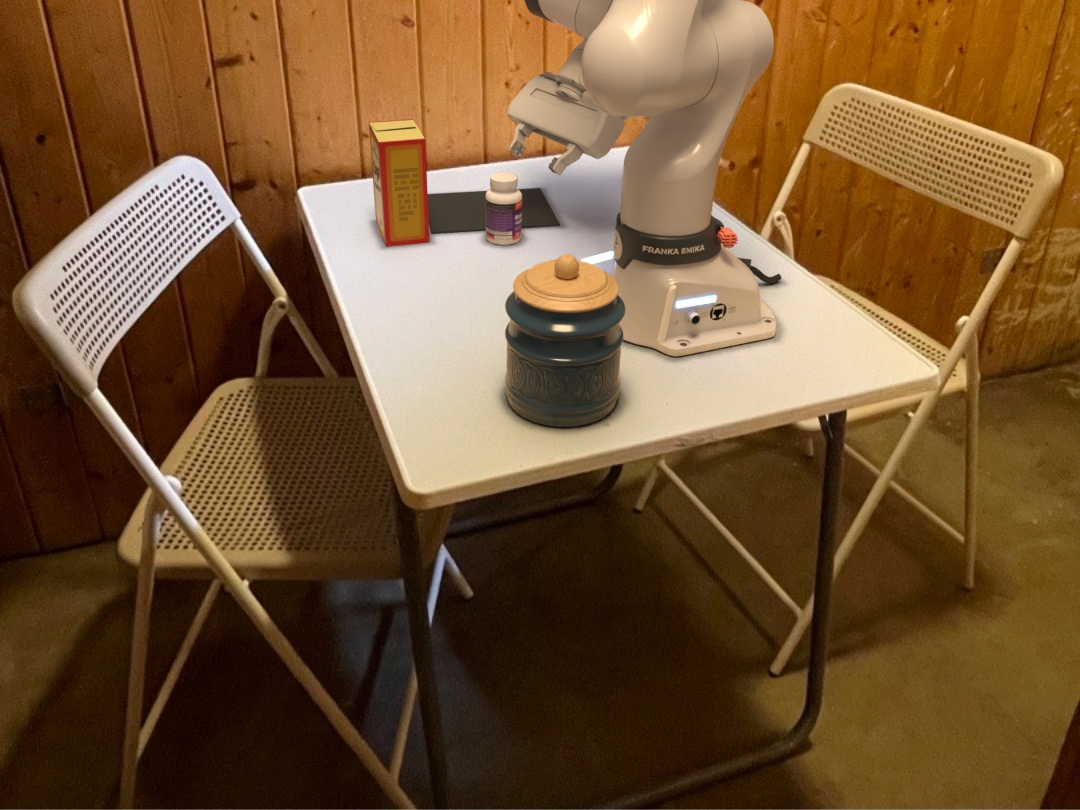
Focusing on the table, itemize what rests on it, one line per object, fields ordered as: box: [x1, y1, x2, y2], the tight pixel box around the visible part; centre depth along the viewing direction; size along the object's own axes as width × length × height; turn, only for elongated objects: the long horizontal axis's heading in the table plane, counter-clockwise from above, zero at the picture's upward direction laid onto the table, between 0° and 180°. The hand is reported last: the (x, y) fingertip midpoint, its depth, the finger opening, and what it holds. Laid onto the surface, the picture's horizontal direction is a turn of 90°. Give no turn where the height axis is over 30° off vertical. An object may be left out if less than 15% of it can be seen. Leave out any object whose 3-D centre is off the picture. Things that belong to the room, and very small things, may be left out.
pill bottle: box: [485, 171, 523, 246], centre depth 150 cm, size 5×5×10 cm
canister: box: [504, 253, 626, 428], centre depth 110 cm, size 13×13×18 cm
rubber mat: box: [428, 187, 561, 235], centre depth 161 cm, size 20×16×1 cm
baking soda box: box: [368, 118, 431, 248], centre depth 149 cm, size 10×6×16 cm
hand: (533, 162), depth 150 cm, fingers open, 8 cm apart
